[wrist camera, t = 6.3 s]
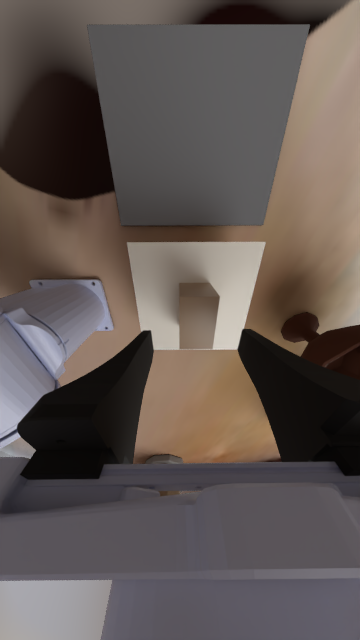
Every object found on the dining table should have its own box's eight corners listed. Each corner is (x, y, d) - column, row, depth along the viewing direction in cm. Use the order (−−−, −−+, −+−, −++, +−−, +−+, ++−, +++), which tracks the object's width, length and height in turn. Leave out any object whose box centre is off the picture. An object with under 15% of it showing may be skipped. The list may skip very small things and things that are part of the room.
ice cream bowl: (294, 286, 20) (519, 373, 7) (353, 310, 22) (619, 415, 9) (251, 343, 25) (333, 458, 12) (302, 358, 27) (422, 473, 13)
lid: (145, 346, 19) (135, 375, 15) (129, 242, 13) (105, 242, 9) (236, 346, 19) (252, 375, 15) (262, 241, 13) (300, 242, 9)
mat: (122, 225, 16) (121, 225, 16) (89, 31, 11) (86, 24, 10) (261, 225, 16) (263, 224, 16) (305, 31, 11) (310, 24, 10)
